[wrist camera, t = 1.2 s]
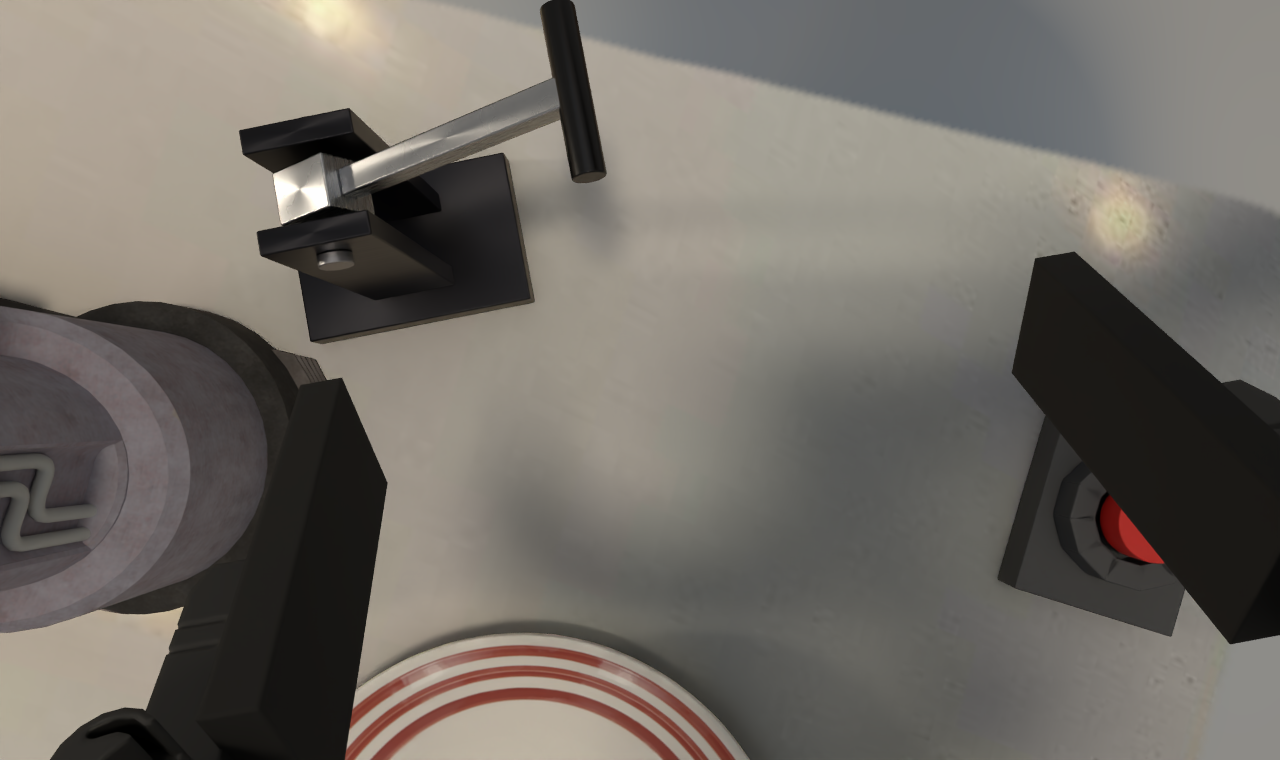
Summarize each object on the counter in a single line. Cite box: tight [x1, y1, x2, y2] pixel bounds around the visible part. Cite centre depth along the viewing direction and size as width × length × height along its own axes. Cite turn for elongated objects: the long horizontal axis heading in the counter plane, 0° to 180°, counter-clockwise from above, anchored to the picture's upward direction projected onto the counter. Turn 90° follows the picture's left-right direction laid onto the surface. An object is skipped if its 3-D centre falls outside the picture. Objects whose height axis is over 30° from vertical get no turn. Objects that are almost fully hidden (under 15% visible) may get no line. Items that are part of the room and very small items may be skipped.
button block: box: [998, 416, 1185, 637], centre depth 42 cm, size 10×8×4 cm
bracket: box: [239, 108, 534, 344], centre depth 39 cm, size 12×8×14 cm, turn 101°
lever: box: [273, 0, 607, 226], centre depth 31 cm, size 14×6×2 cm, turn 101°
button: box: [1100, 495, 1164, 564], centre depth 39 cm, size 4×4×2 cm
